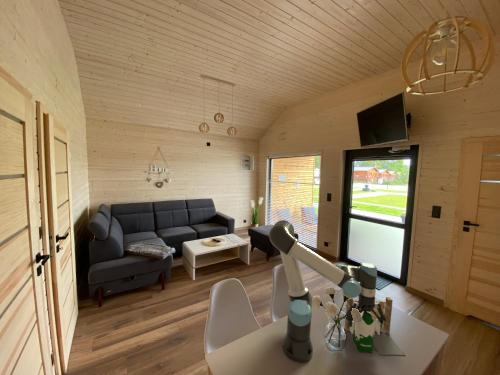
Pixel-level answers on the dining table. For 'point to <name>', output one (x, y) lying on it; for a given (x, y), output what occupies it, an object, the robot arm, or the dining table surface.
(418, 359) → the dining table surface
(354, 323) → the door
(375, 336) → the keeper pad
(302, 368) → the dining table surface
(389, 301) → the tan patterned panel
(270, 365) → the dining table surface
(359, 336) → the soya milk
